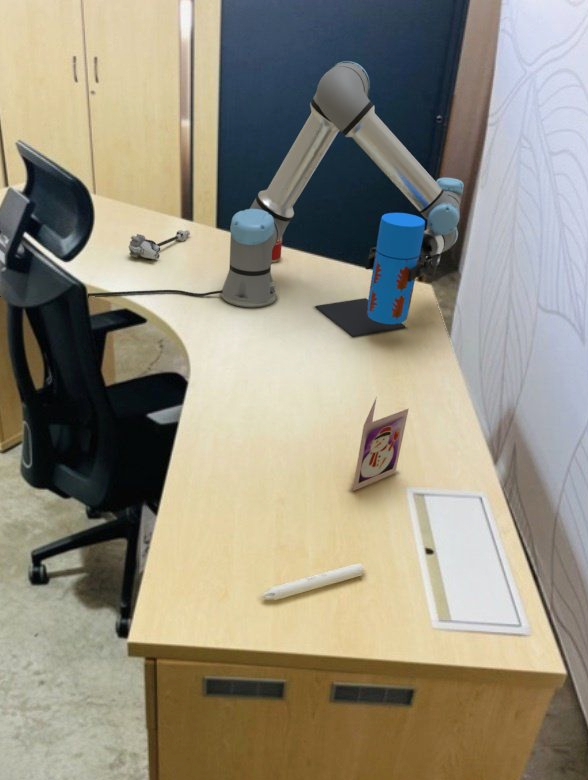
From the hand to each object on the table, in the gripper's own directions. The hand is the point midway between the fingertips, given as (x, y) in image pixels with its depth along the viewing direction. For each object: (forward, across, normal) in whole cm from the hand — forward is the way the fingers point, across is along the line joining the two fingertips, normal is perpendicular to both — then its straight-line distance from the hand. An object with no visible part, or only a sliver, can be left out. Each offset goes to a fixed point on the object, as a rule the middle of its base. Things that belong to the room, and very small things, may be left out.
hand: (388, 270), depth 186 cm
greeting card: (+54, -25, -20) cm, 63 cm away
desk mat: (-11, +11, -20) cm, 25 cm away
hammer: (-16, +85, -20) cm, 89 cm away
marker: (+88, -32, -20) cm, 96 cm away
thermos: (-4, 0, -14) cm, 14 cm away
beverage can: (-32, +54, -20) cm, 66 cm away
